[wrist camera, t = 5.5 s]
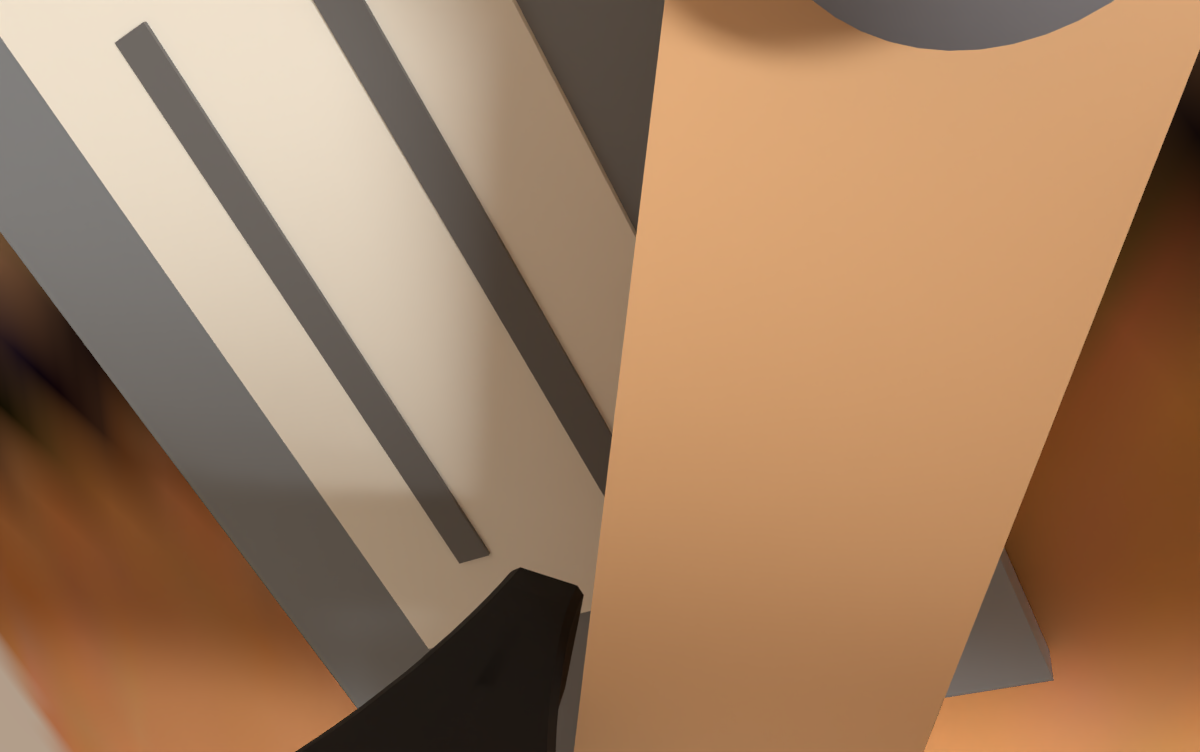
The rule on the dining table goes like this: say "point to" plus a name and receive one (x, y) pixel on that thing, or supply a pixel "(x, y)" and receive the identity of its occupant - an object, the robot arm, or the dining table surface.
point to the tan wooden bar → (852, 348)
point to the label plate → (365, 287)
